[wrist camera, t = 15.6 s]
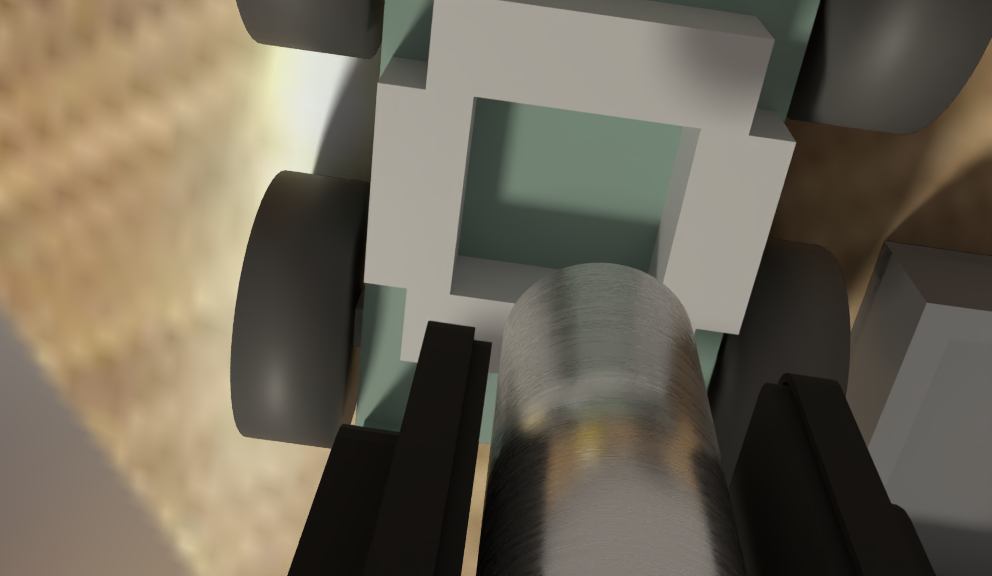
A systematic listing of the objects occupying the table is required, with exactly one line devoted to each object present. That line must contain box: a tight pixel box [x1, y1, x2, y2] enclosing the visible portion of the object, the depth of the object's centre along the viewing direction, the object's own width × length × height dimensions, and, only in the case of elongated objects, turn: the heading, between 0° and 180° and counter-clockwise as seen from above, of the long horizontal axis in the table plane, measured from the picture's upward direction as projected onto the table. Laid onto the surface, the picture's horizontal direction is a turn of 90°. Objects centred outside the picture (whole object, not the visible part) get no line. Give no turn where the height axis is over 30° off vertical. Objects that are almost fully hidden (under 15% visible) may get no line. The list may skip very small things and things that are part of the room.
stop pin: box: [476, 263, 747, 576], centre depth 9 cm, size 4×4×8 cm
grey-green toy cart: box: [230, 0, 992, 488], centre depth 17 cm, size 12×15×11 cm
